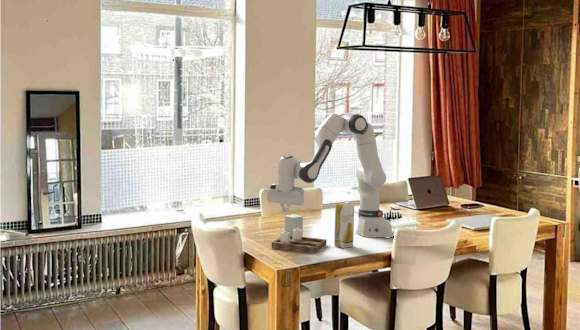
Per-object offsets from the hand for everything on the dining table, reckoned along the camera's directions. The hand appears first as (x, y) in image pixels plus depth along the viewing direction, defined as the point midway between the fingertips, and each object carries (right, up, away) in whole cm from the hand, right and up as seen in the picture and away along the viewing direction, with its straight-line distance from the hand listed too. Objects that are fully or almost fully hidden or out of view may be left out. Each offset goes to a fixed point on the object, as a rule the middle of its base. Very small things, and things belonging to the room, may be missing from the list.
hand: (285, 211), depth 342 cm
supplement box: (+4, -16, +12) cm, 20 cm away
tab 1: (0, -17, -7) cm, 18 cm away
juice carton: (+31, -18, -3) cm, 36 cm away
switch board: (+7, -18, -5) cm, 20 cm away
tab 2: (+6, -16, 0) cm, 17 cm away
